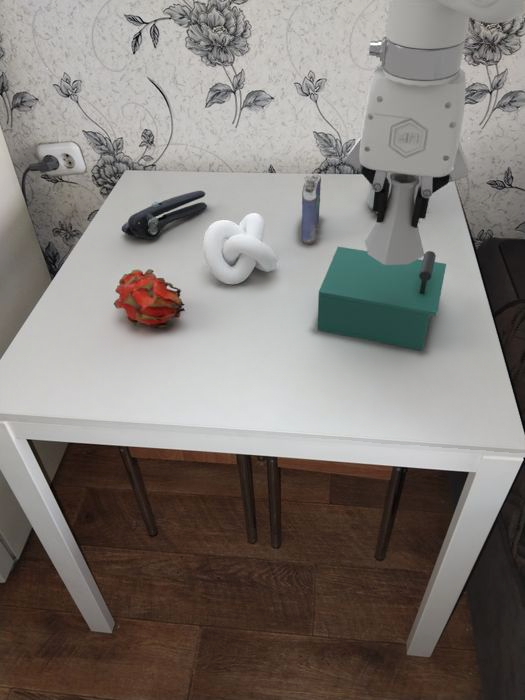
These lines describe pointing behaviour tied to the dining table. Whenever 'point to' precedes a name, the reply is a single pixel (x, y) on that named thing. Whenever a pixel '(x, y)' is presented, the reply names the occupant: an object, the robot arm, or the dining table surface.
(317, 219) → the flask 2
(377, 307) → the box
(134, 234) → the can opener
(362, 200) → the dining table surface
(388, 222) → the flask
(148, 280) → the dragon fruit
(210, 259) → the white decorative knot
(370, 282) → the lunchbox lid
